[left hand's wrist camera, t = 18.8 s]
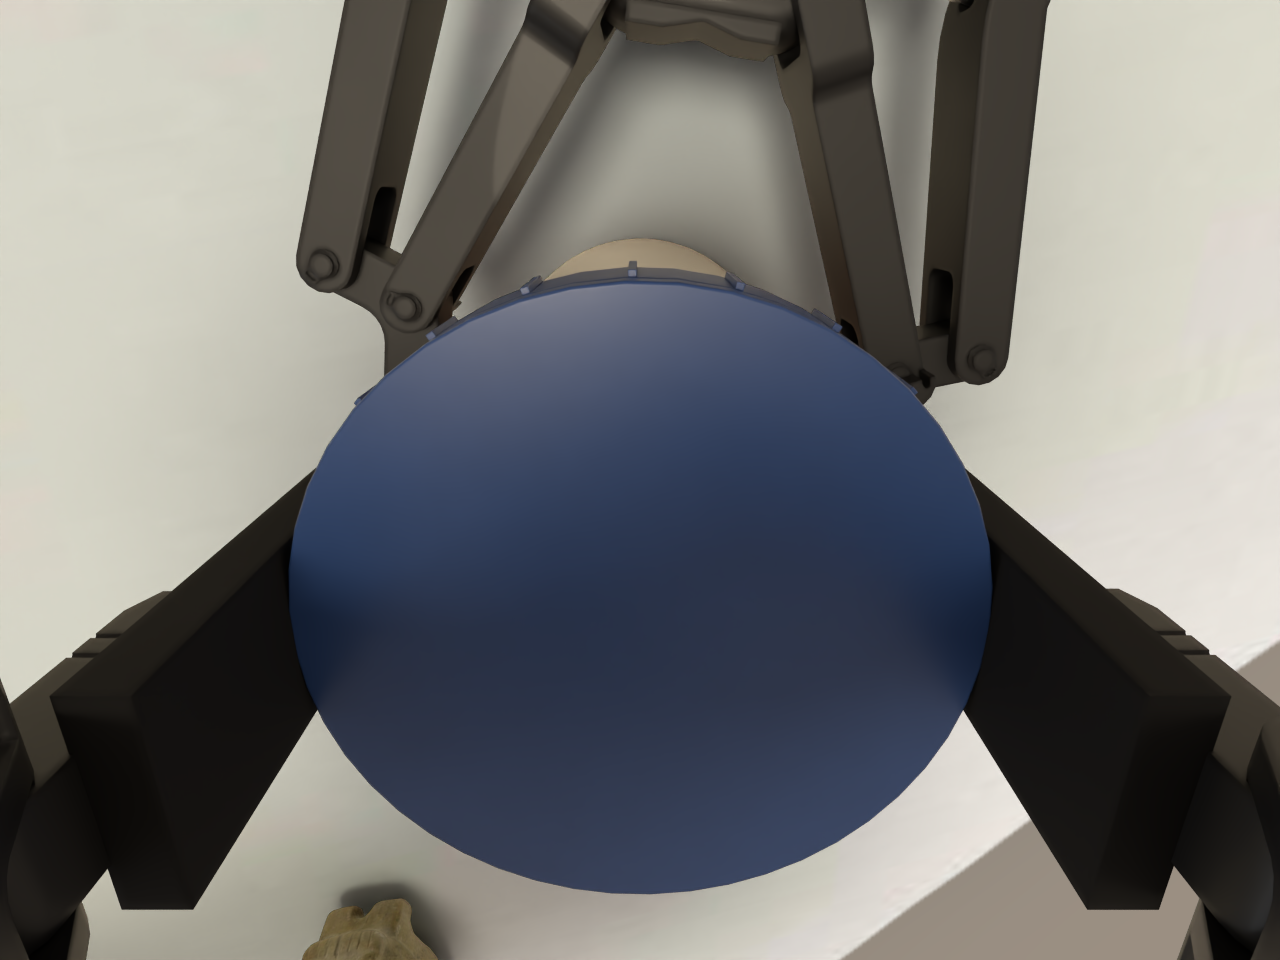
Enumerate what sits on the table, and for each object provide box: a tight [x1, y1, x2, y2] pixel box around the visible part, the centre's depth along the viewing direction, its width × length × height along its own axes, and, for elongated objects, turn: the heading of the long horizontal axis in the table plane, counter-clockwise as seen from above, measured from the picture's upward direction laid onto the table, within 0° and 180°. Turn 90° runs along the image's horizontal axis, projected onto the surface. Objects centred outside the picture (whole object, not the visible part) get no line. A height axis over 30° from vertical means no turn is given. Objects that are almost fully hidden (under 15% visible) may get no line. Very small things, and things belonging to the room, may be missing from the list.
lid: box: [289, 261, 993, 894], centre depth 11 cm, size 10×10×2 cm
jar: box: [544, 238, 726, 281], centre depth 18 cm, size 9×9×15 cm
